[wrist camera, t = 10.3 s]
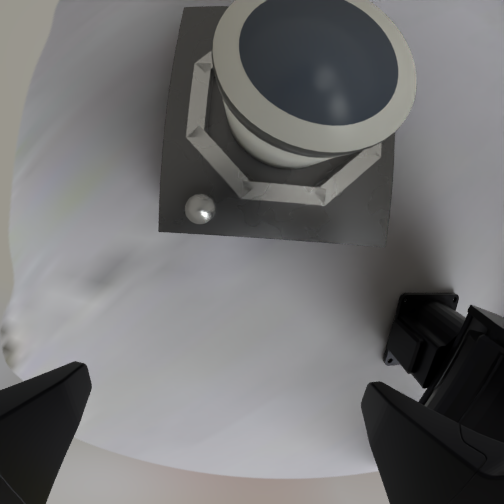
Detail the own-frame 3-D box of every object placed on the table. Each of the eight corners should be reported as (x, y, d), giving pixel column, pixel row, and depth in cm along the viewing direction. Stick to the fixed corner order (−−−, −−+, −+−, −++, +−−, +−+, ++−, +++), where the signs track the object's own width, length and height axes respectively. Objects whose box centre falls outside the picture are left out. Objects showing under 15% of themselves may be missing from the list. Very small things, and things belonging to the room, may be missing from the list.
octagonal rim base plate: (361, 61, 17) (398, 26, 11) (353, 233, 20) (395, 252, 14) (196, 43, 17) (180, -4, 10) (179, 220, 19) (151, 235, 13)
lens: (346, 68, 13) (408, 4, 6) (343, 176, 14) (420, 170, 7) (231, 54, 12) (223, -31, 6) (221, 165, 14) (199, 142, 7)
